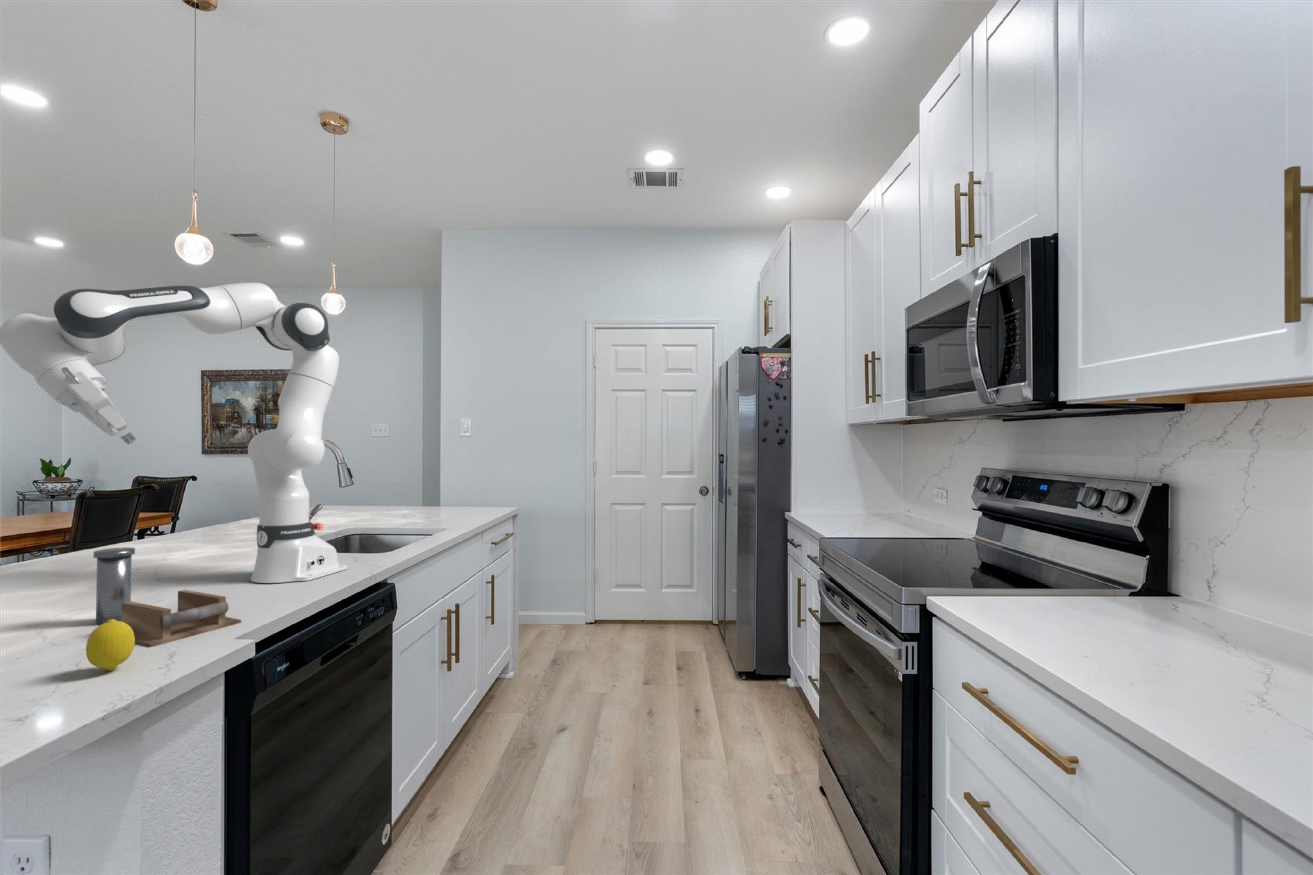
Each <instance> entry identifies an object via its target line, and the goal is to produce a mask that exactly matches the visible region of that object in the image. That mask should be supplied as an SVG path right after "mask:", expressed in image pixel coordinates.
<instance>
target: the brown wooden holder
mask: <svg viewBox="0 0 1313 875" xmlns="http://www.w3.org/2000/svg"><path fill="white" fill-rule="evenodd" d="M226 599H227V598H226V596H223V595H218V594H211V593H206V592H201V591H200V592H199V591H196V590H195V591H193V590H189V589H181V590H178V591H177V612H172V608H166V607H161V606H158V605H157V606H156V605H152V604H147V603H141V602H138V601H137V602H136V601H132V600H131V601H127V602H122V603H121V622H124V623H126V624H128V625H129V626H130V627H131V628H132V630H133V633H134V637H135V645H136V644H137V645H141V646H146V647H149V648H151V647H156V646H160V645H162V644H166V643H170V642H173V641H177V640H182V639H185V638H188V637H192V636H195V635H201V634H203V633H207V632H210V631H214V630H218V629H222V628H226V627H229V626H232V625H233V626H234V625H237V624H240V623H242V619H240V618H239V619H238V618H233V617H229V616H226V613H228V611H229V608H230V607H229V603H228V602H227V600H226Z"/></svg>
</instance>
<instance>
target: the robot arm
mask: <svg viewBox="0 0 1313 875" xmlns="http://www.w3.org/2000/svg"><path fill="white" fill-rule="evenodd" d="M53 313H54V316H55V317H48V316H42V315H37V314H34V313H29V312H28V313H21V314H18V315H15V316H12V317H11V318H8V319H7V320H6V321H5V322H3V324H2V325H0V346H1V347H2V349H3V350H4V351H5V353H6V354H7V355H8V356H9V357H10V358H11V359H12V360H13V362H14V363H16V365H18V366H19V367H20V368H21V369H22V370H23V371H24V372H27V373H28V374H30V375H31V376H33V378H34V379H35V381H36V383H37V385H39V386H40V387H41V388H42V390H44V391H45V393H47V394H48V395H49V396H50V397H51V398H52V399H53V400H54V401H55V402H56V403H57V404H59V405H63V406H66V407H67V408H69V409H71V410H72V411H73V412H74V413H80V414H81V415H82V416H83V417H85V418H86V419H87V420H88V421H90V422H91V423H92V424H94V426H96V427H97V428H99V429H100V430H101V431H102V432H104V433H105V434H106V435H108V436H111V437H113V436H117V437H118V438H119V439H121V440H122V441H123V442H125V444H126V445H132V444H134V443H136V442H137V439H136V437H135V436H134V435H133V434H132V433H131V432H130V431H129V430H128V428H129V426H128V424H127V423H126V422H125V420H124V419H123V417H122V415H121V414H120V412H119V411H118V410H117V408H116V406H115V405H114V403H113V402H112V400H111V399H110V397H109V395H108V392H107V387H106V386H107V385H106V383H107V379H106V377H105V376H103V375H102V374H101V373H100V372H99V371H98V370H97V369H96V368H95V367H94V366H98V365H102V364H106V363H110V362H112V361H115V360H117V359H118V358H119V357H121V356H122V355H123V353H124V352H125V349H126V333H125V332H126V331H125V326H126V325H127V324H129V323H131V322H133V321H137V320H145V319H152V318H154V319H155V318H161V317H168V316H176V317H177V316H179V317H182V318H185V319H186V320H187V321H188V323H189V324H190V325H191V326H193V327H194V328H195V329H197V330H199V331H200V332H203V333H205V334H209V335H219V334H228V333H233V332H236V331H240V330H241V331H242V330H244V329H247V328H252V327H253V328H254V327H255V329H256V330H257V331H258V332H259V333H260V334H261V336H262V337H263V338H264V340H265V341H266V343H268V345H270V346H271V347H273V348H276V349H278V350H281V351H291V352H292V364H291V367H290V369H289V371H288V373H287V376H286V379H285V382H284V385H283V387H282V389H281V391H280V395H279V397H278V400H277V404H278V408H279V410H278V412H279V413H278V422H277V426H276V428H269V429H266V430H264V431H261V432H259V433H257V434H256V435H255V436H253V437H252V438H251V439H250V441H249V443H248V446H247V453H248V456H249V458H250V461H251V462H252V465H253V471H254V474H255V479H256V485H257V489H258V497H259V498H258V500H259V501H258V502H259V506H258V508H259V509H258V510H259V516H258V517H259V519H258V520H259V521H258V524H257V525H256V544H257V552H256V558H255V563H254V568H253V571H252V575H251V577H250V581H251V582H253V583H260V584H276V583H279V584H281V583H289V582H291V583H292V582H308V581H311V580H315V579H318V578H321V577H324V576H325V577H326V576H329V575H332V574H335V573H339V572H343V571H345V570H348V565H347V564H345V563H343V562H339V559H338V558H339V557H338V552H337V549H336V548H335V547H334V546H333V545H332V544H331V543H328V542H327V541H325V540H324V539H322V538H321V537H319V536H317V535H316V532H315V531H316V530H317V531H323V529H324V523H323V522H314V523H312V522H311V521H310V491H309V489H308V488H307V486H306V484H305V481H304V477H303V474H302V472H303V471H306V470H308V469H311V468H313V467H315V466H317V465H318V464H319V463H321V462H322V460H323V459H324V457H325V452H326V448H325V443H324V441H323V426H324V425H323V424H324V419H325V418H324V417H325V414H326V410H327V408H328V404H329V402H330V398H331V396H332V393H333V390H334V387H335V384H336V380H337V377H338V372H339V365H340V355H339V353H338V352H337V351H336V350H335V348H333V347H332V346H330V345H328V344H329V343H330V338H331V337H330V334H329V321H328V318H327V315H326V313H325V312H324V311H323V310H322V309H321V308H320V307H319V306H316V305H314V304H311V303H307V302H295V303H292V304H290V305H285V304H283V303H282V302H280V300H279V298H278V297H277V295H276V293H275V292H274V291H273V290H272V289H271V287H269V286H268V285H267V284H264V283H262V282H236V283H227V284H220V285H215V286H209V287H208V286H207V287H197V286H192V285H169V286H167V285H166V286H157V287H146V288H145V287H144V288H135V289H134V288H132V289H122V290H121V289H119V290H111V289H110V290H106V289H98V288H79V289H73V290H70V291H67V292H65V293H63V294H62V295H59V297H58V298H57V300H56V301H55V303H54V305H53Z"/></svg>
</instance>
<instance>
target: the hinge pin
mask: <svg viewBox="0 0 1313 875" xmlns="http://www.w3.org/2000/svg"><path fill="white" fill-rule="evenodd" d="M92 554H93V556H92V557H93V558H94V559H96V586H95V587H96V591H95V592H96V594H95V596H96V599H95V600H96V601H95V624H96V625H98V626H100V625H101V624H103V623H106V622H107V621H108V620H110V619H115V620H116V621H121V603H122V602H127V601H132V556H133V555H135V554H136V547H127V546H126V547H112V548H111V547H110V548H103V549H99V550H98V549H97V550H95V551H93V553H92Z"/></svg>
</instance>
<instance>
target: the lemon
mask: <svg viewBox="0 0 1313 875" xmlns="http://www.w3.org/2000/svg"><path fill="white" fill-rule="evenodd" d="M135 645H136V643H135V637H134V633H133V630H132V628H131V627H130V626H129V625H128V624H126V623H124V622H121V621H116V620H115V619H110V620H108V621H107V622H106V623H103V624H101V625H98V626H97V627H95V628H94V629H93V630H92V631H91V632H90V634H89V636H88V638H87V640H86V646H85V654H86V659H87V660H88V662H89V664H91V665H92V666H94V667H96V668H98V669H99V668H100V669H104V670H106V671H107V672H112V671H114V670H115V669H116V668H117V667H118V666H119V665H121V664H123V663H125V661H127V660H128V659H129V658H130V657H131V655H132V653H133V651H134V648H135Z"/></svg>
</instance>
